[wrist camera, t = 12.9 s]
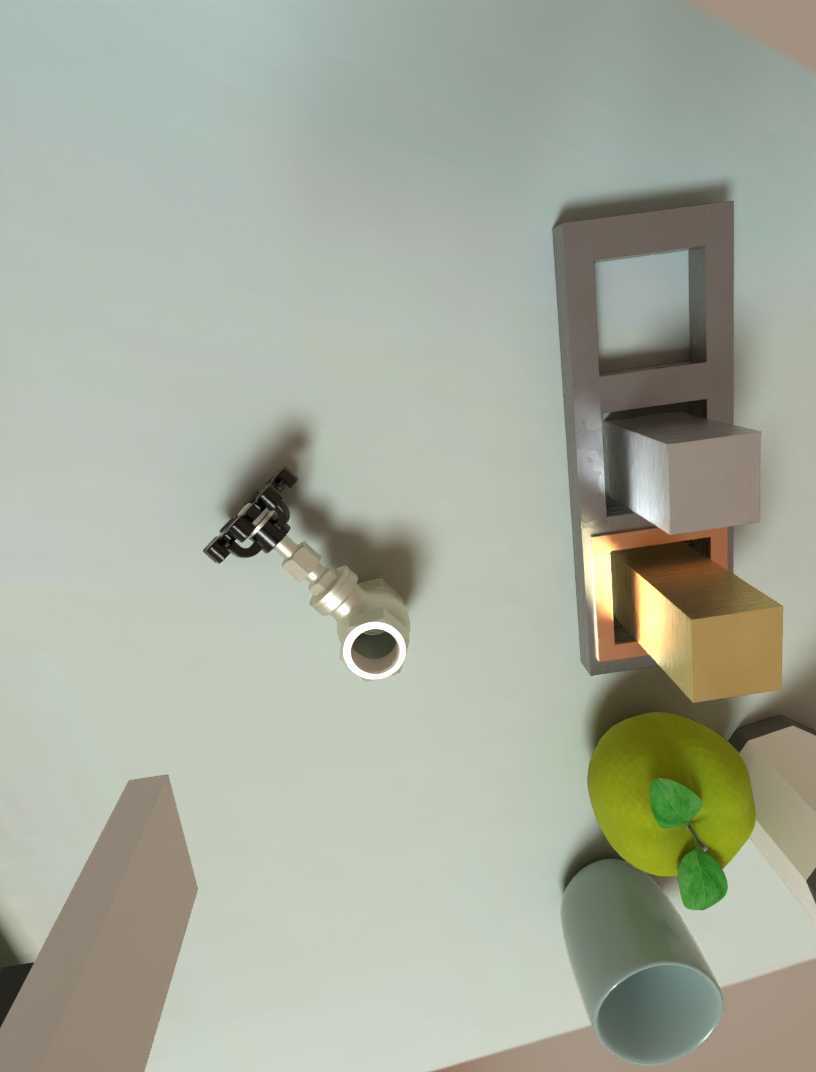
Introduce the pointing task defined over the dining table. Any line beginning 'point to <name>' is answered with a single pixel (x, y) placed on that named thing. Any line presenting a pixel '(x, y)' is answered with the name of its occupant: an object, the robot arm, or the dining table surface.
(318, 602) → the valve
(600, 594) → the grey compartment tray
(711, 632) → the brass block
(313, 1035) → the dining table surface
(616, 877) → the cup
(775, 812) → the wine bottle
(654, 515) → the grey rectangular block
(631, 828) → the fruit
